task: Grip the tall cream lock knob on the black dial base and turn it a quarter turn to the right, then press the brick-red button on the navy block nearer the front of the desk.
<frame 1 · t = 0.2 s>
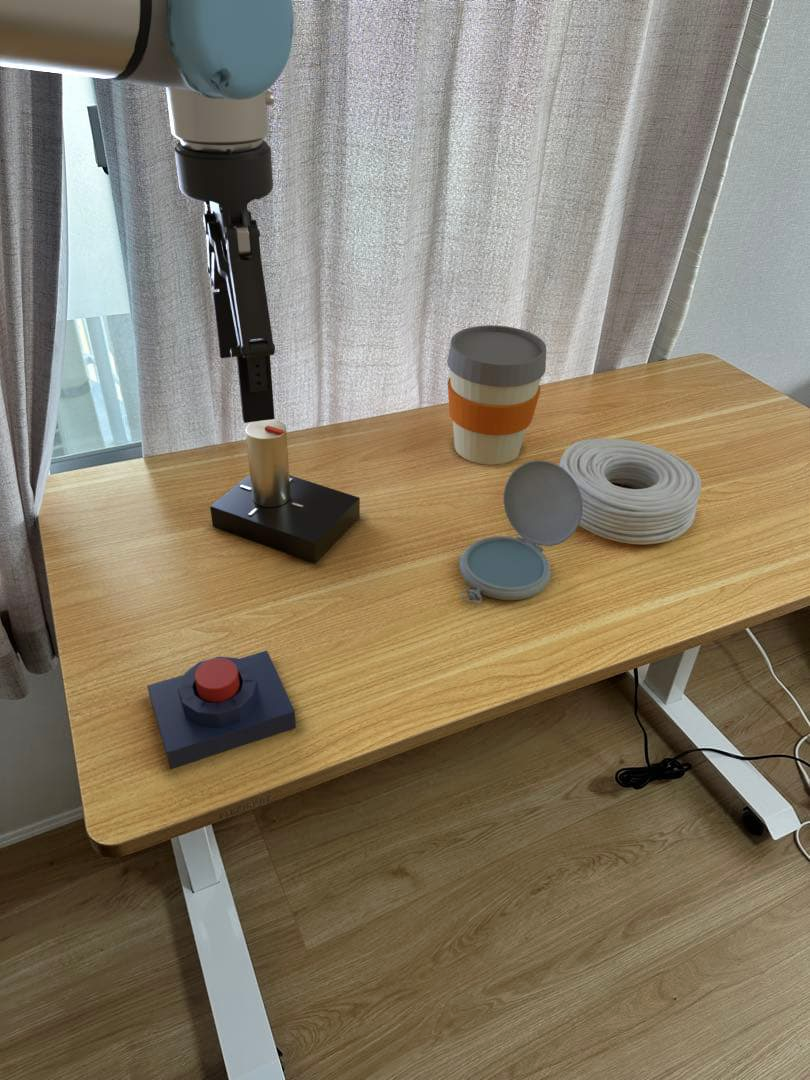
hand: (245, 385, 76), 21 cm above the table, tool pointing down, fingers open, 13 cm apart
reusable coffee cup: (486, 448, 110), on the table
black dial base: (287, 522, 95), on the table
button block: (222, 714, 72), on the table
cable: (620, 508, 100), on the table
red button: (217, 680, 69), point 4 cm above the table, slide at 0.1 cm
pocket watch: (505, 574, 89), on the table
lock knob: (268, 462, 91), point 8 cm above the table, hinge at 0.0°
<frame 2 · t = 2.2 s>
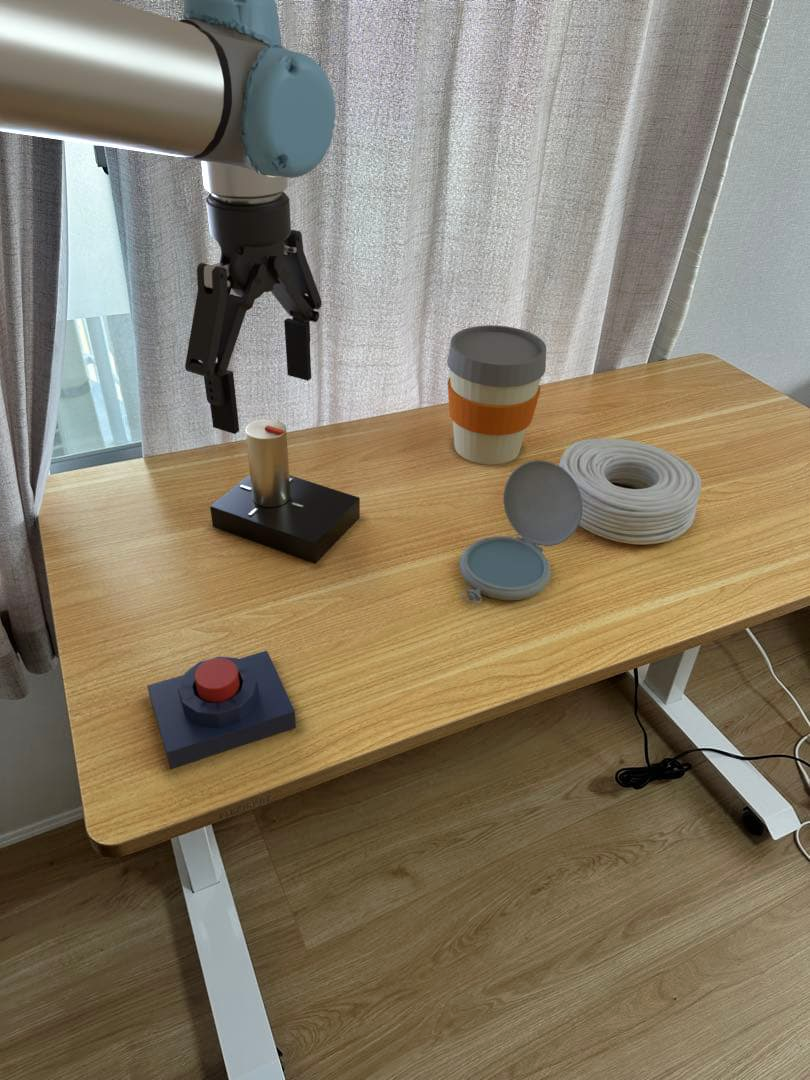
hand: (264, 401, 86), 15 cm above the table, tool pointing down, fingers open, 13 cm apart
nothing on the table moved.
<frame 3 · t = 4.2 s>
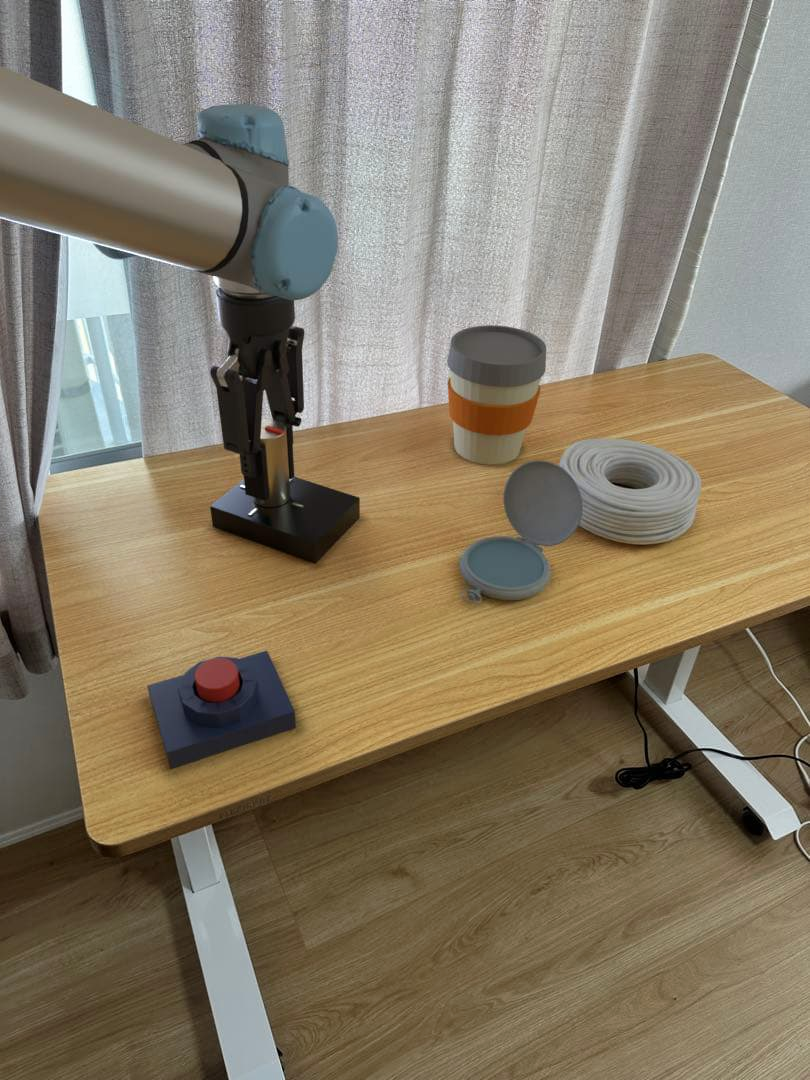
hand: (270, 484, 93), 5 cm above the table, tool pointing down, fingers closed on lock knob, 4 cm apart
lock knob: (268, 462, 91), point 8 cm above the table, hinge at 0.0°, touching gripper
everything else where it was.
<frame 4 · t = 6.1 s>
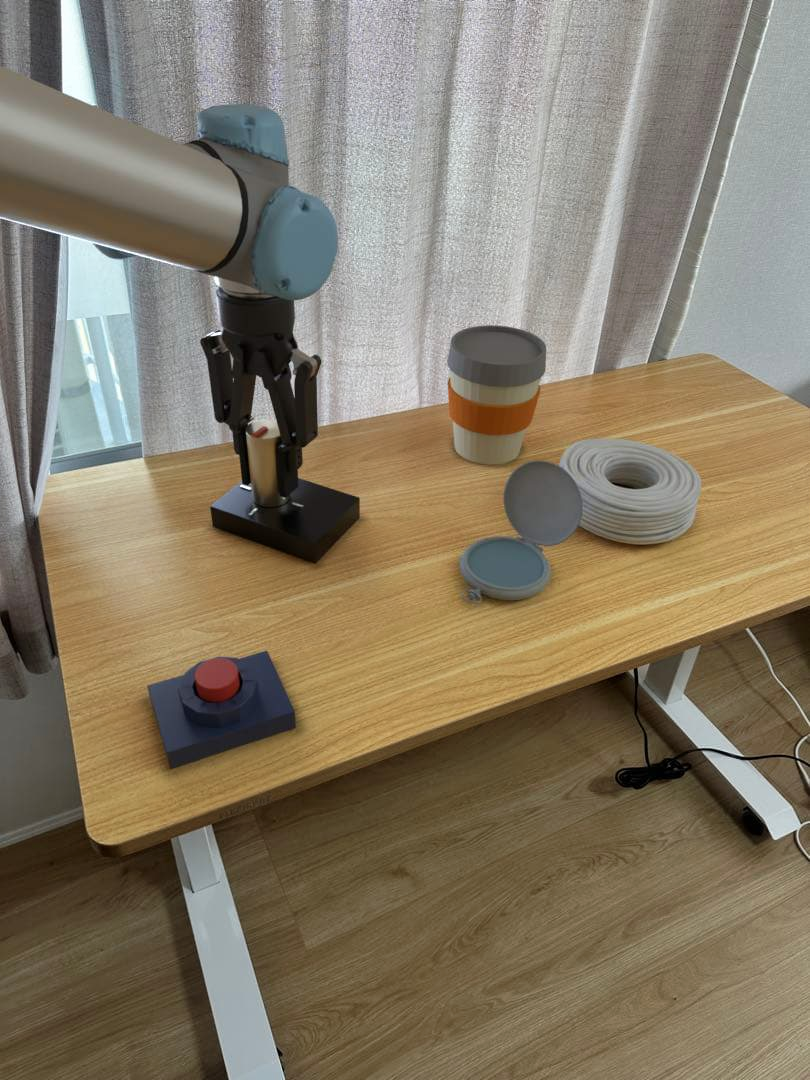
hand: (270, 484, 93), 5 cm above the table, tool pointing down, fingers closed on lock knob, 4 cm apart
lock knob: (268, 462, 91), point 8 cm above the table, hinge at -89.7°, touching gripper
everything else where it was.
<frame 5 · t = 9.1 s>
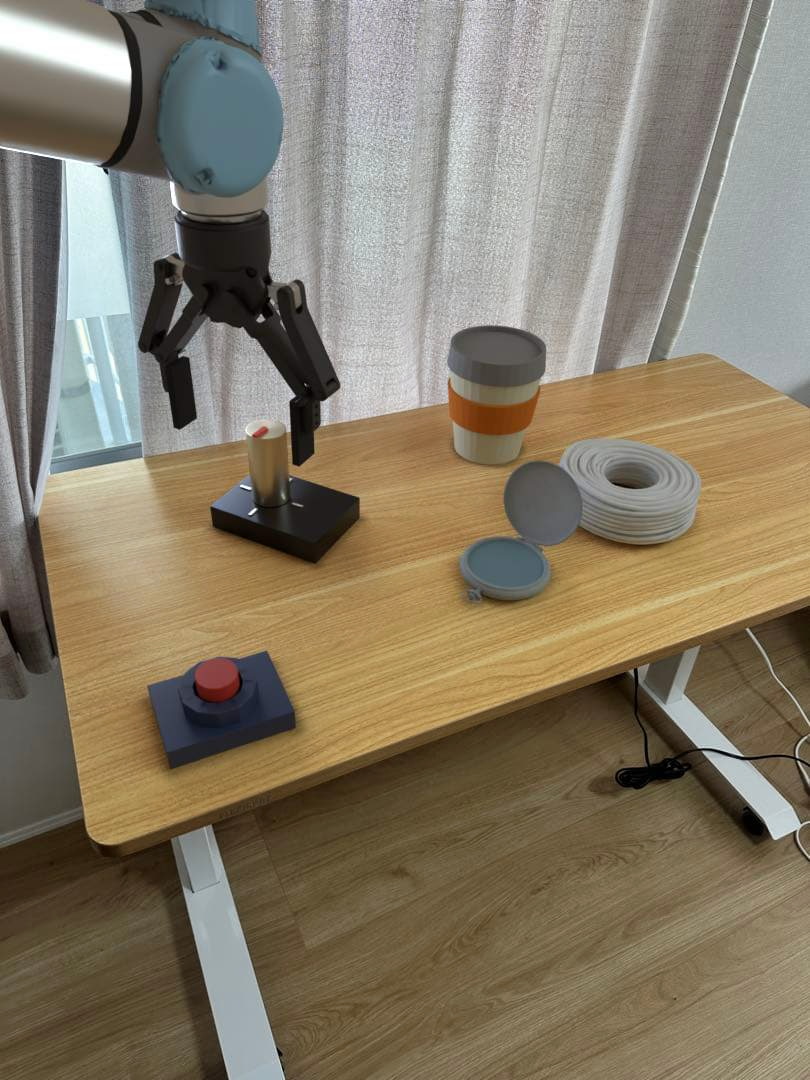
hand: (242, 440, 77), 17 cm above the table, tool pointing down, fingers open, 13 cm apart
lock knob: (268, 462, 91), point 8 cm above the table, hinge at -90.2°
everything else where it was.
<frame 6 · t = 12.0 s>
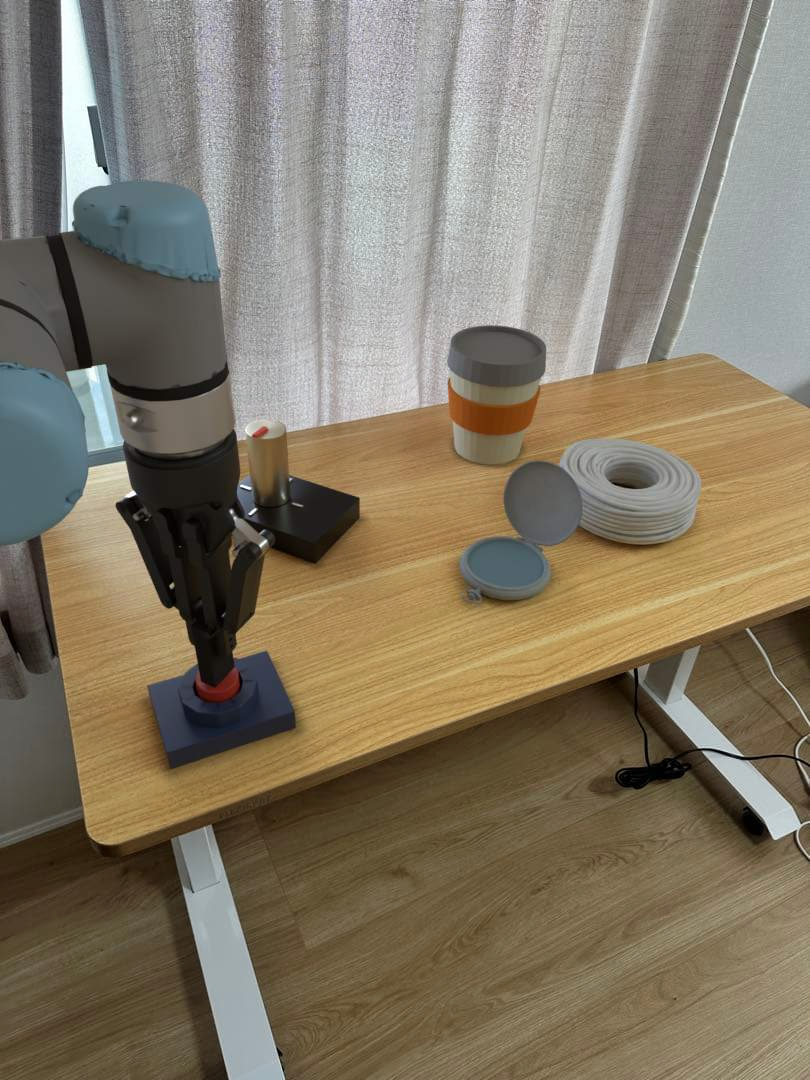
hand: (218, 674, 69), 5 cm above the table, tool pointing down, fingers closed
red button: (217, 683, 69), point 4 cm above the table, slide at -0.3 cm, touching gripper
everything else where it was.
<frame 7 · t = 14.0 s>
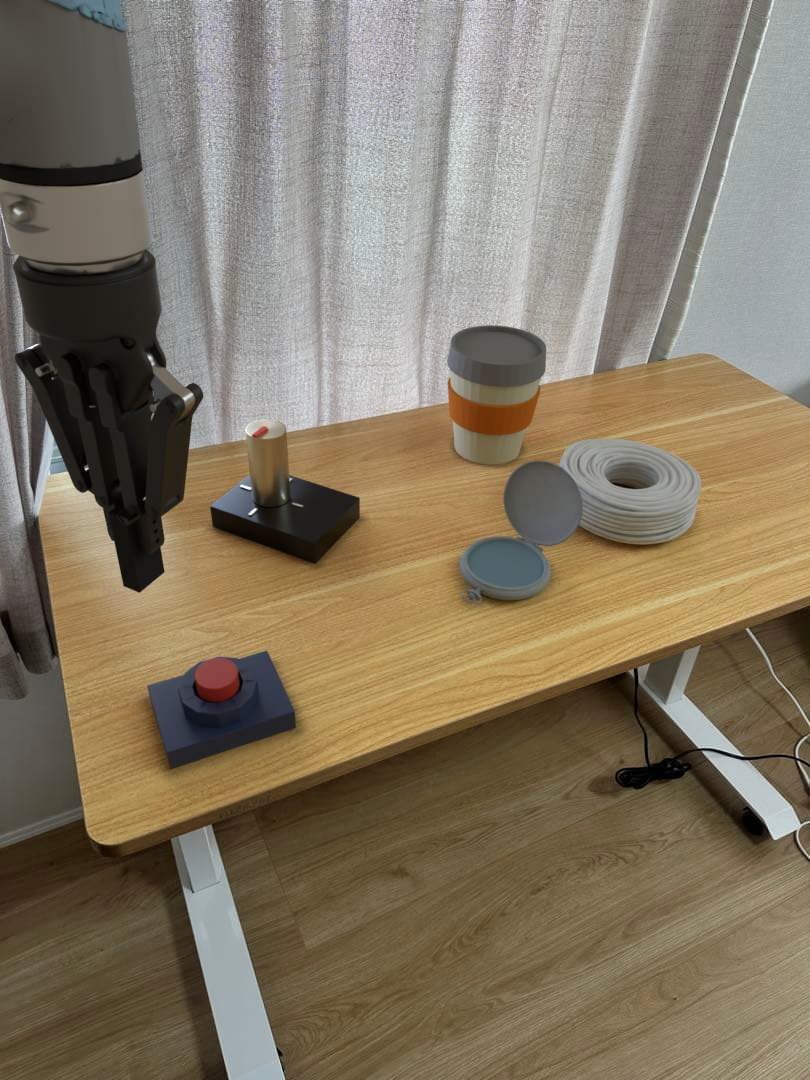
hand: (144, 578, 59), 18 cm above the table, tool pointing down, fingers closed
red button: (217, 680, 69), point 4 cm above the table, slide at 0.1 cm
everything else where it was.
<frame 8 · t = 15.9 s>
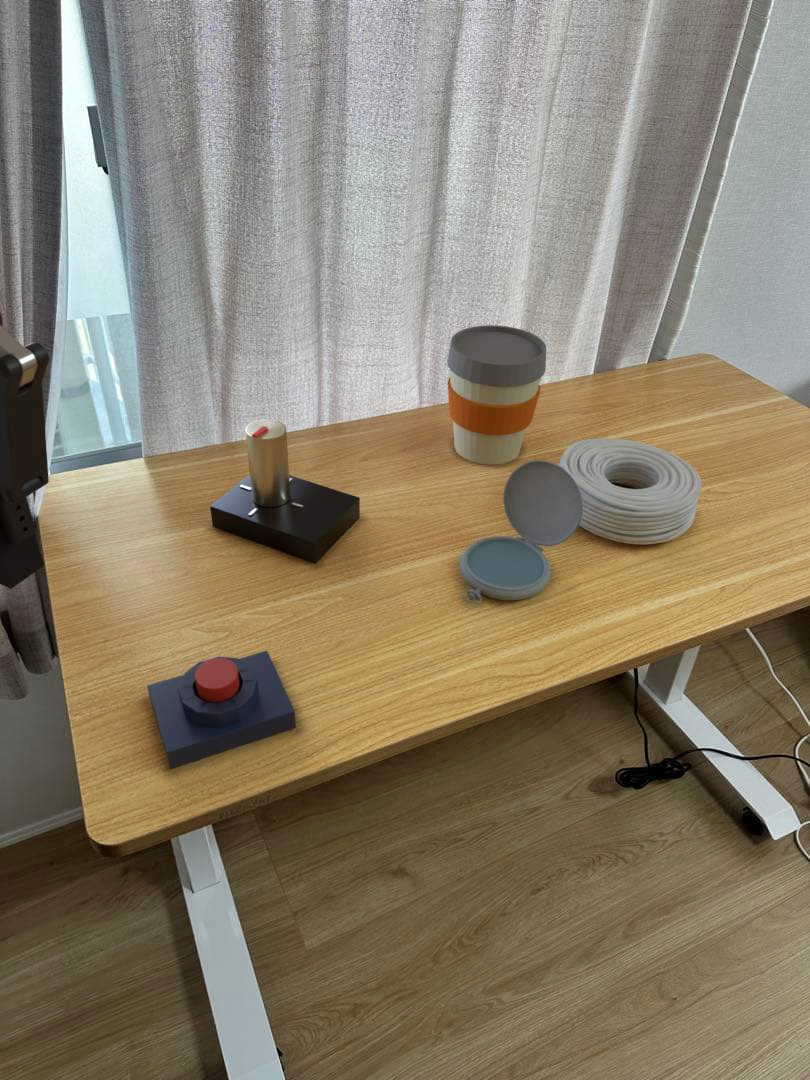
hand: (19, 573, 52), 22 cm above the table, tool pointing down, fingers closed
nothing on the table moved.
at the end: lock knob at -90° (first picture: +0°); red button pushed in 1.0 cm at the most during the clip, back to where it started at the end; red button slide at 0.1 cm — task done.
